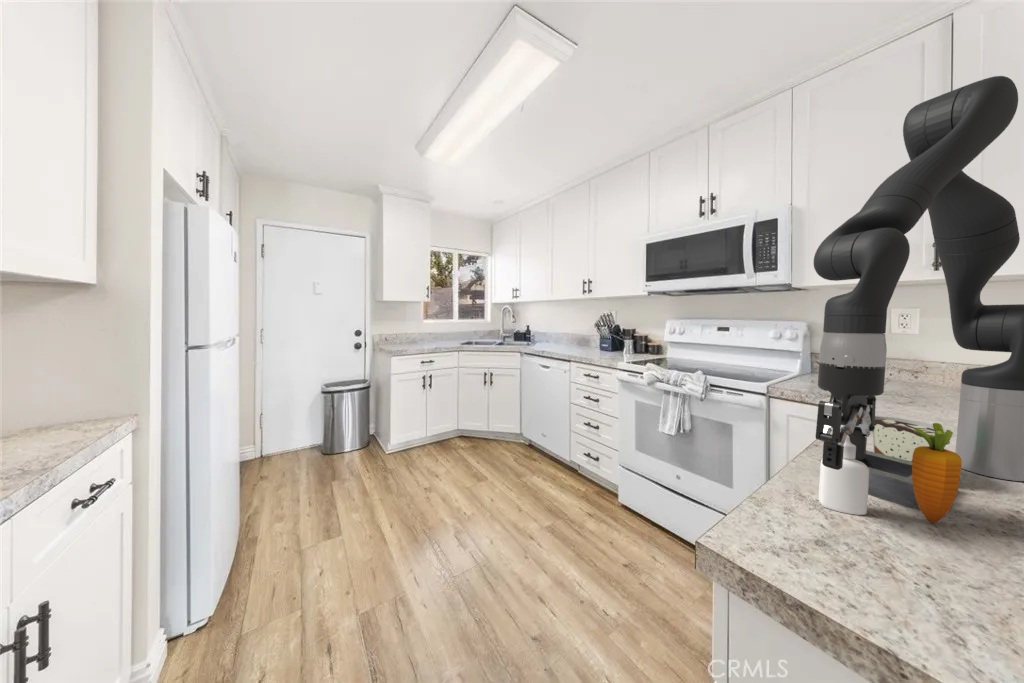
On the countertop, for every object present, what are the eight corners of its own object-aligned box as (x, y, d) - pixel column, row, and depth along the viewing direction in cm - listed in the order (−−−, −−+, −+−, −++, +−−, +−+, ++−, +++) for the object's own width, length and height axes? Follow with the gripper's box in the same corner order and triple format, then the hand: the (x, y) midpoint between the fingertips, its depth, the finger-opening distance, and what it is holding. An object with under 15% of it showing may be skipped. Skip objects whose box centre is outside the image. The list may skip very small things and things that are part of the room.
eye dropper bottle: (824, 497, 61) (828, 428, 60) (869, 512, 56) (874, 438, 55) (814, 504, 58) (818, 433, 58) (861, 521, 54) (866, 443, 53)
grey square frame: (856, 467, 73) (858, 448, 73) (938, 490, 63) (940, 468, 63) (827, 481, 67) (828, 460, 66) (913, 508, 57) (915, 484, 57)
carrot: (944, 535, 50) (953, 431, 49) (898, 516, 55) (905, 421, 54) (966, 530, 51) (975, 428, 50) (919, 512, 56) (926, 419, 55)
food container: (969, 489, 64) (973, 434, 63) (933, 488, 64) (938, 434, 63) (896, 461, 76) (899, 415, 75) (866, 461, 76) (869, 415, 75)
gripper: (840, 357, 62) (834, 447, 63) (800, 361, 55) (794, 462, 56) (901, 362, 56) (894, 463, 57) (864, 367, 49) (856, 481, 50)
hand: (844, 462), depth 57 cm, fingers open, 8 cm apart
